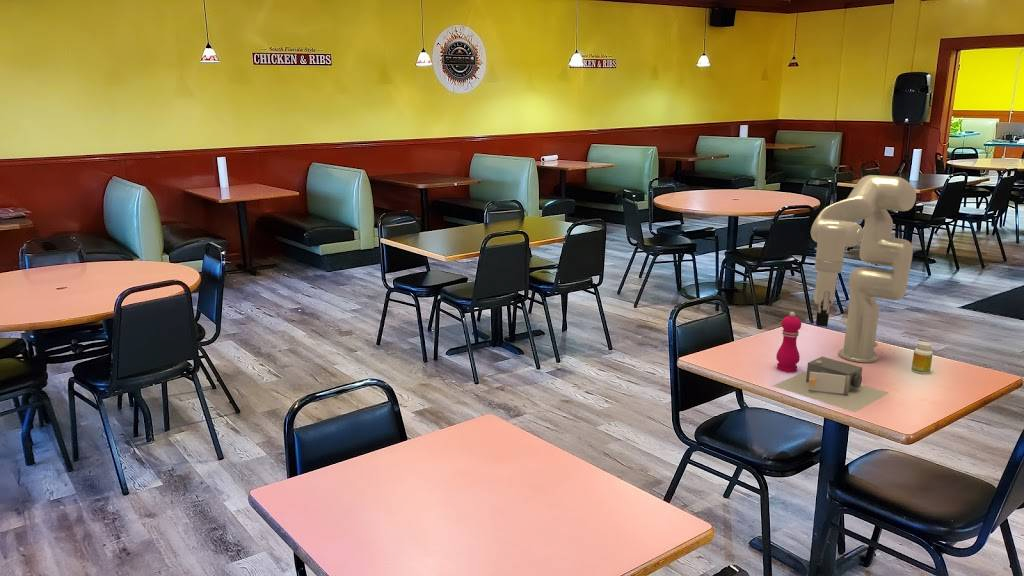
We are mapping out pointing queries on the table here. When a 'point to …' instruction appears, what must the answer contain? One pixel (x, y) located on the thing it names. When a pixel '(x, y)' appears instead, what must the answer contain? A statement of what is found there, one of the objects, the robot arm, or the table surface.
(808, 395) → the mat
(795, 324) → the pepper mill
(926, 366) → the supplement bottle
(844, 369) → the camera body
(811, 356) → the table surface
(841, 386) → the side door
